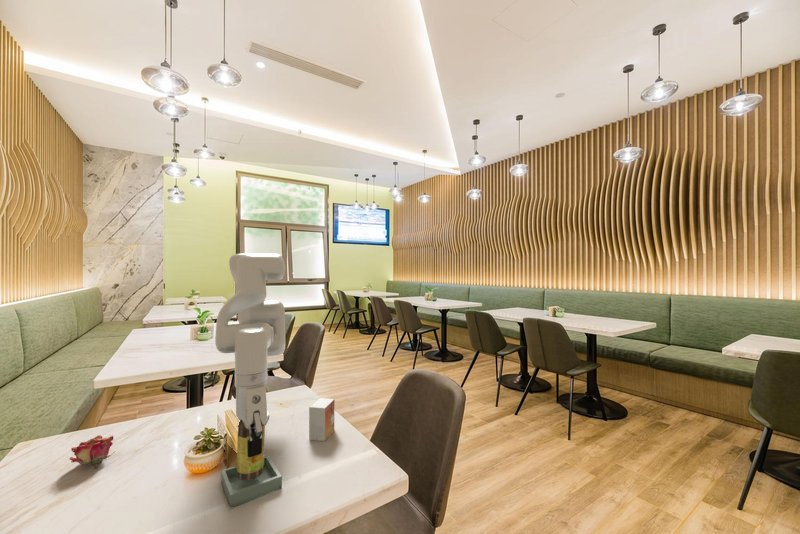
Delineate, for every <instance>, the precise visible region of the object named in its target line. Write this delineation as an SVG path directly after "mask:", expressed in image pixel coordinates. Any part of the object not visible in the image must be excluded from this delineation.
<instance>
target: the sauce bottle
mask: <svg viewBox="0 0 800 534" xmlns="http://www.w3.org/2000/svg"><path fill="white" fill-rule="evenodd" d="M255 399H256V398H255ZM260 420H261V419H260ZM250 426H251V427H253V426H255V425H254V424H251V425H250ZM261 426H262V453H261V454H259V455H256V456H253V457H248V455H247V448H248V440H249V434H248V429H247V428H245V426H244V423H243V421H242V419H241V420H240V422H239V425H238V426H237V429H238V431H237V447H236V448H237V450H236V451H237V452H236V453H237V455H236V466H237V471H238V473H237V477H238V479H239V480H242V481H248V480H253V479H255V478H257V477H258V476H260V475H261V474H262V472H263V465H264V456H265V431H266V430H265V426H266V425H263V424H262V423H261ZM253 432H255V429H252V434H253Z"/></svg>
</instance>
